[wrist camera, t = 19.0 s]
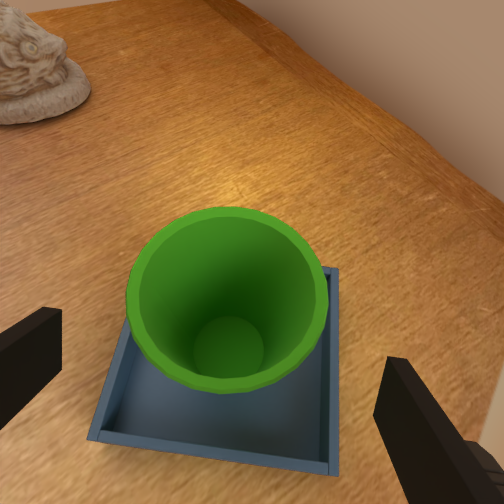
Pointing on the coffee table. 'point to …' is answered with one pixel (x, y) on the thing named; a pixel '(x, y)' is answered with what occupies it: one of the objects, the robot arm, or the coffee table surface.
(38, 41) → the sculpture
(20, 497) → the coffee table surface
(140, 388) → the blue tray
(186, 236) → the cup
